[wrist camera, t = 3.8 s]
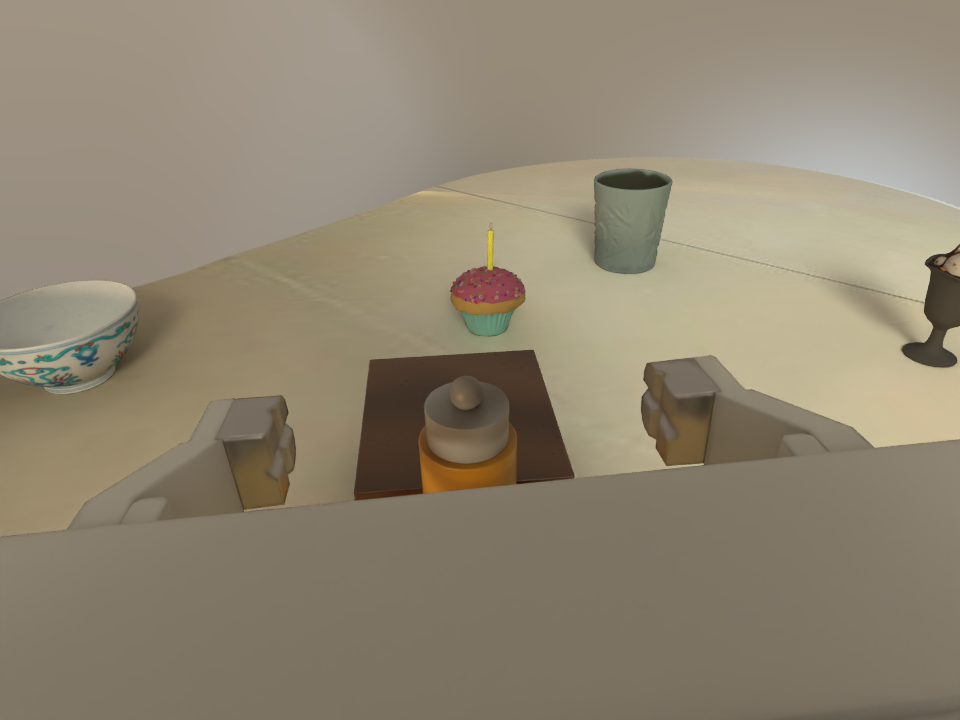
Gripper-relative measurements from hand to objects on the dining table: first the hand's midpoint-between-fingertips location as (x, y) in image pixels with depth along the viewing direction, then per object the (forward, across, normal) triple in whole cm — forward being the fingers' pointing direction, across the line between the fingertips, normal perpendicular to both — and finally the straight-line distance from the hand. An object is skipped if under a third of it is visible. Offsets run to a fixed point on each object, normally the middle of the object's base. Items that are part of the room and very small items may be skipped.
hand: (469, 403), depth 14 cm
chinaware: (+48, +38, +24) cm, 66 cm away
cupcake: (+54, -5, +25) cm, 59 cm away
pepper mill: (+13, 0, +24) cm, 28 cm away
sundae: (+41, -51, +26) cm, 71 cm away
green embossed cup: (+70, -27, +24) cm, 79 cm away
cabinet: (+26, 0, +26) cm, 36 cm away
